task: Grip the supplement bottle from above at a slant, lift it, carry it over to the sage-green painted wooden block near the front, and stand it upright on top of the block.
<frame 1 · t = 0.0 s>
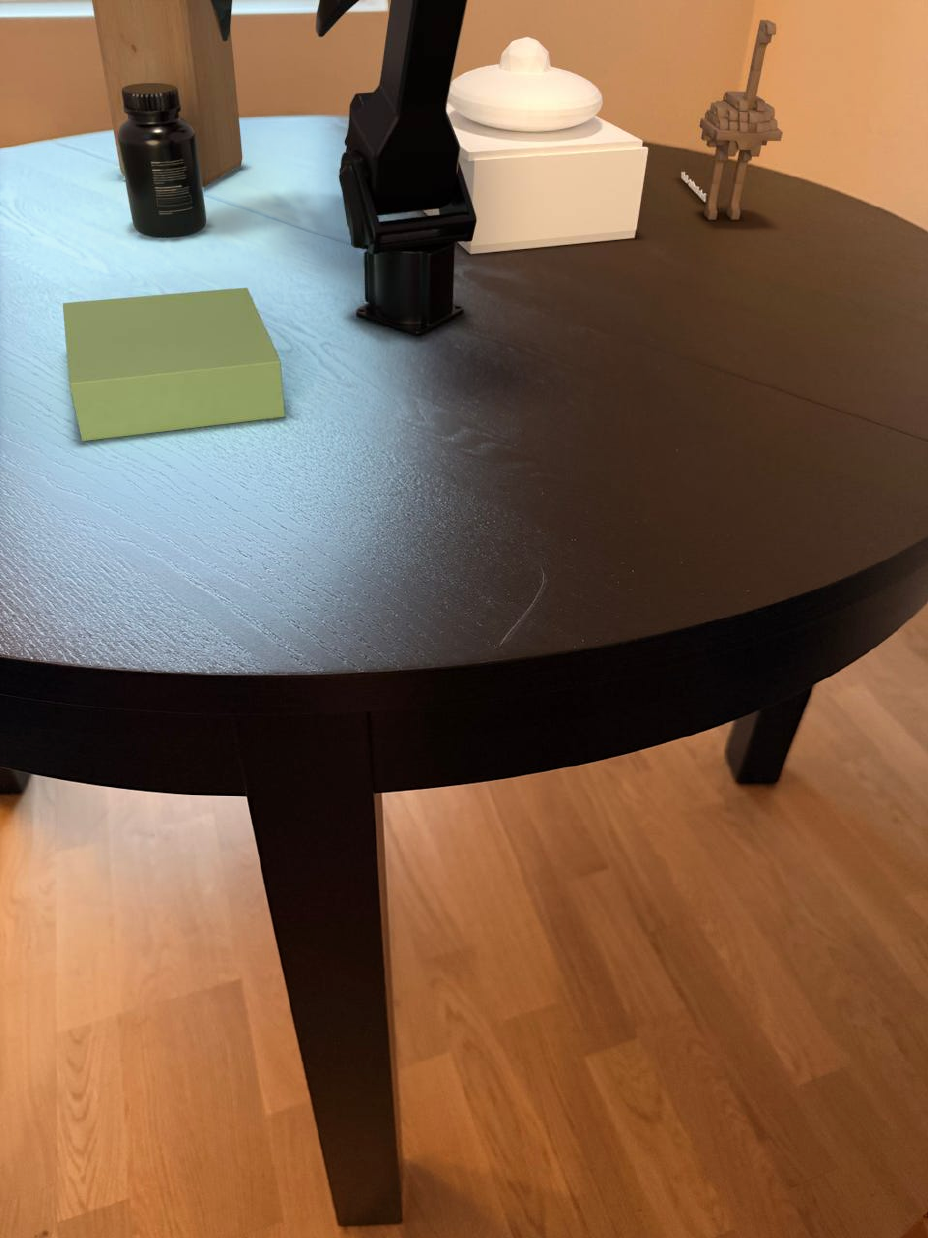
hand: (272, 35, 93), 15 cm above the table, tool tilted 35°, fingers open, 9 cm apart
supplement bottle: (170, 229, 95), on the table
ostrich figurine: (705, 204, 108), on the table
wooden block: (184, 175, 108), on the table
butter dish: (515, 218, 101), on the table
green block: (175, 385, 70), on the table
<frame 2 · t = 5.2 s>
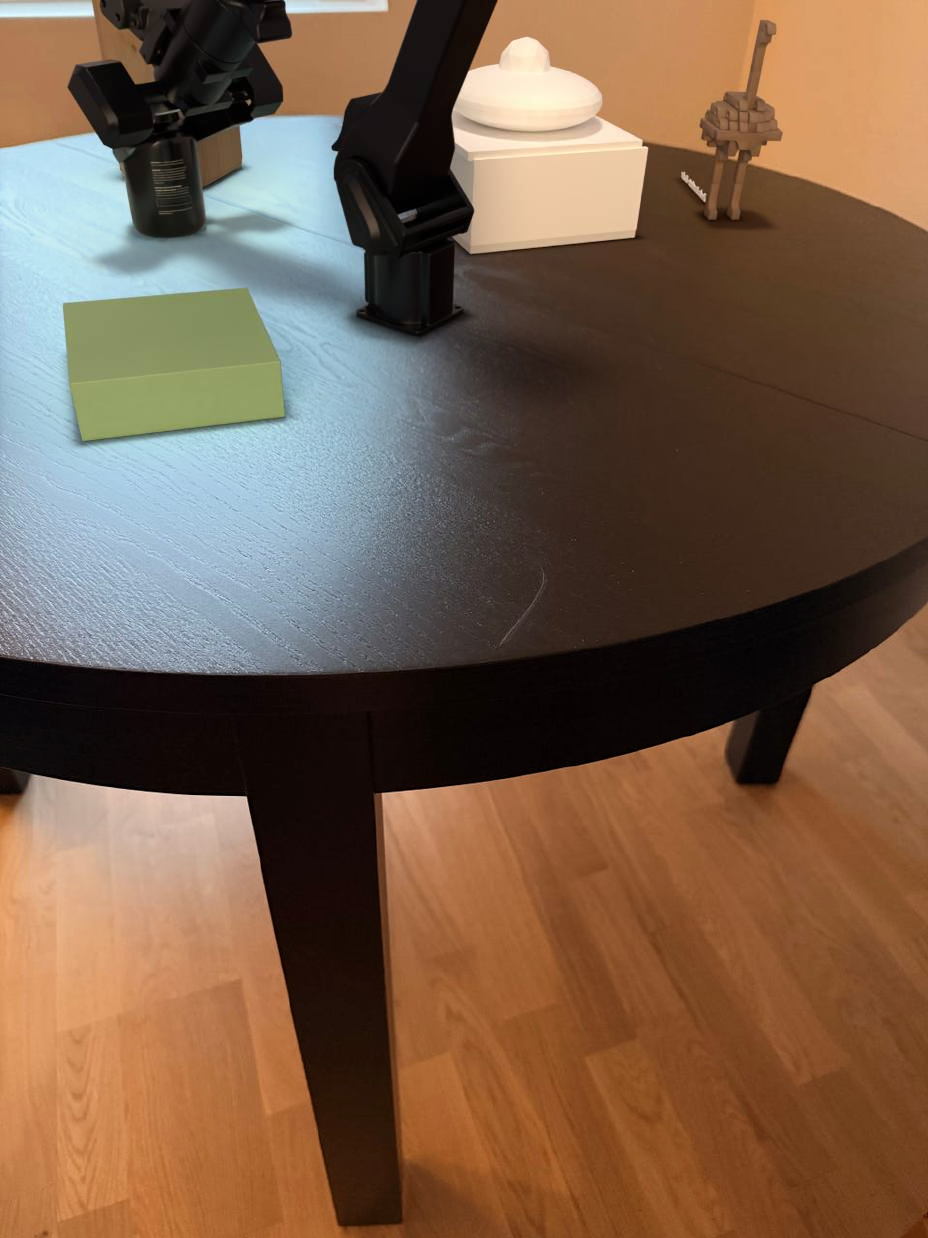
hand: (150, 150, 91), 7 cm above the table, tool tilted 45°, fingers closed on supplement bottle, 7 cm apart
supplement bottle: (170, 229, 95), on the table, touching gripper
everything else where it was.
when the fingers open (11 cm above the table, at t = 18.3 s): supplement bottle stays where it is, resting on green block.
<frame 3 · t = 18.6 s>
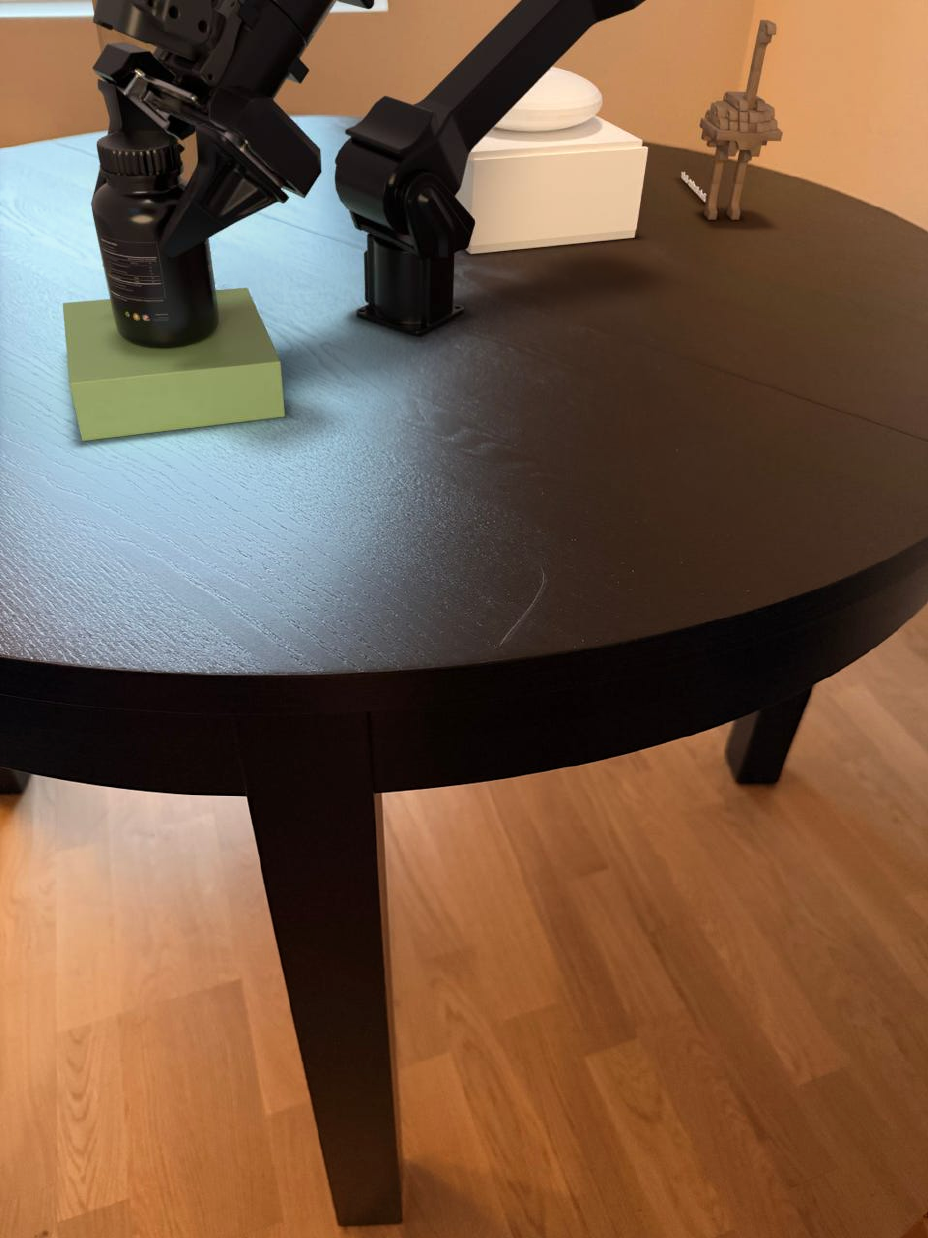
hand: (130, 231, 62), 11 cm above the table, tool tilted 45°, fingers open, 9 cm apart
supplement bottle: (168, 332, 68), point 4 cm above the table, touching green block
green block: (175, 385, 70), on the table, touching supplement bottle
everything else where it was.
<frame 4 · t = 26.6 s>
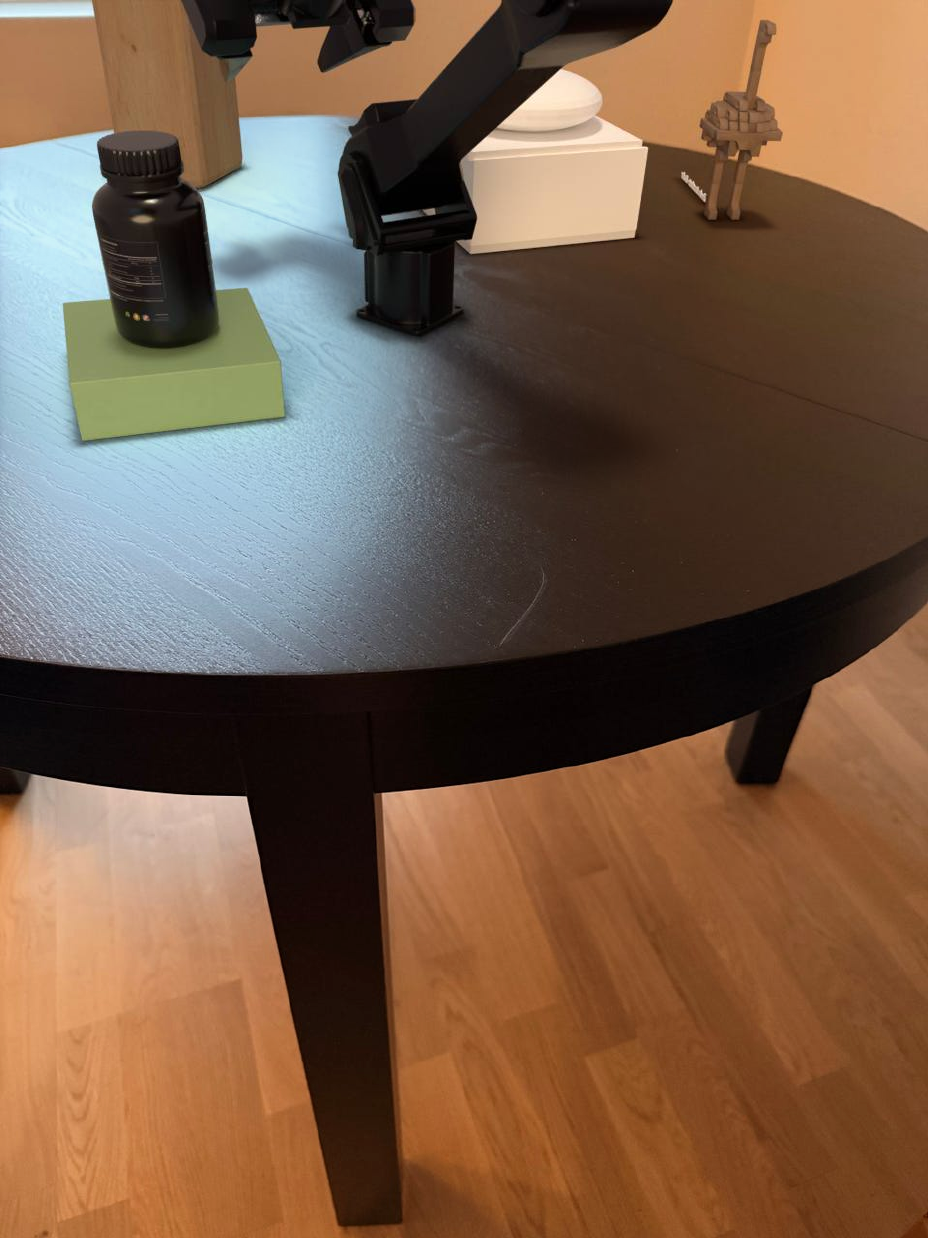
hand: (274, 71, 87), 14 cm above the table, tool tilted 45°, fingers open, 9 cm apart
nothing on the table moved.
at the end: supplement bottle inside the target area on the green block (0.1 cm from its centre), point 3.8 cm above the green block's base; supplement bottle tilted 0°; the gripper is holding nothing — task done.
